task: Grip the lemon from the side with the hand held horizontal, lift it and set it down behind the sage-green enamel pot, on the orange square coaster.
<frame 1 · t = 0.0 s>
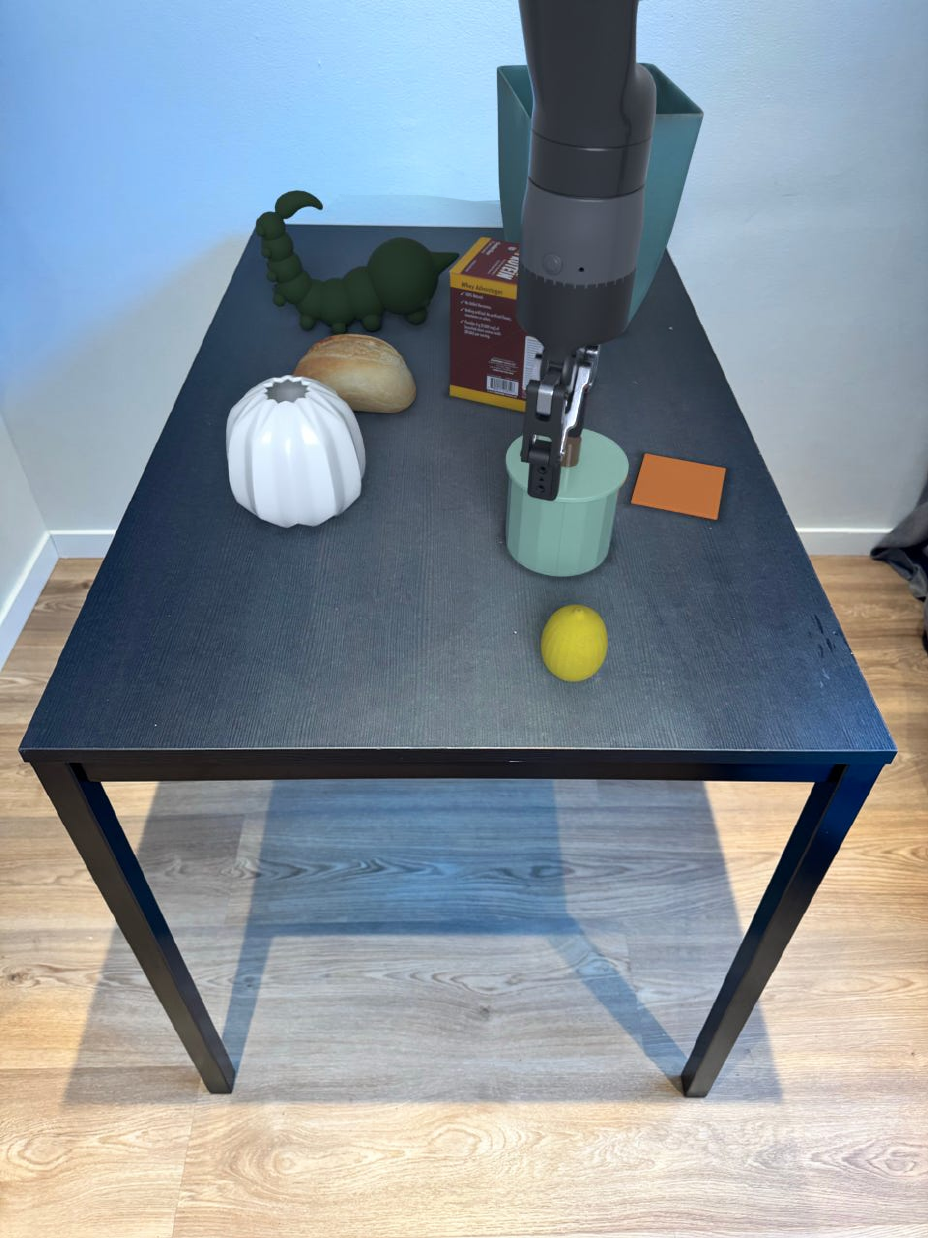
hand: (555, 463, 67), 18 cm above the table, tool pointing down, fingers open, 8 cm apart
supplement box: (520, 389, 109), on the table
lemon: (569, 676, 76), on the table
flower pot: (570, 318, 122), on the table
pot: (557, 541, 88), on the table
vase: (303, 502, 93), on the table
orange square coaster: (678, 486, 95), on the table
toy figurine: (366, 325, 120), on the table
bread roll: (354, 405, 106), on the table
pot lid: (566, 464, 82), point 9 cm above the table, touching pot
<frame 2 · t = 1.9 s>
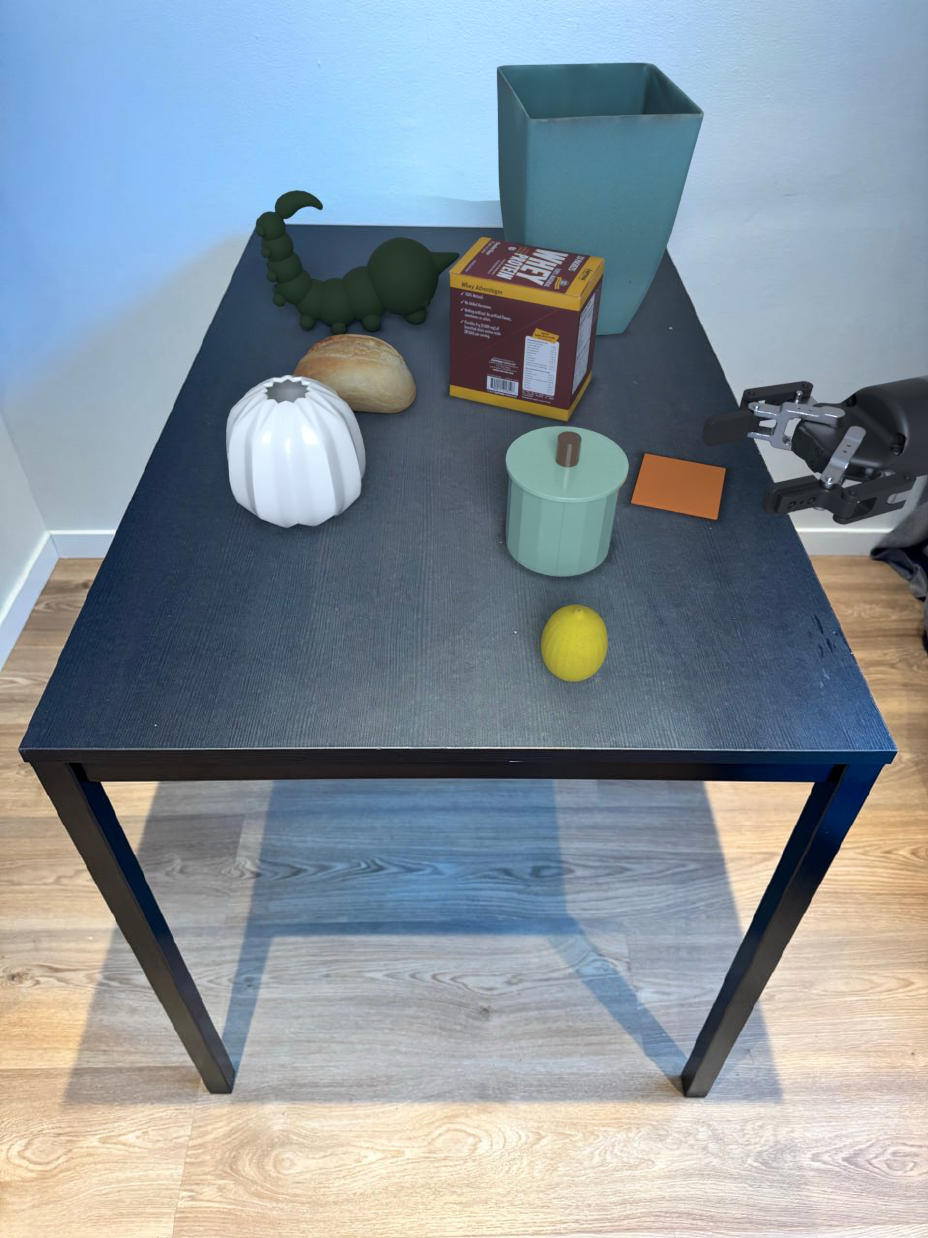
hand: (734, 464, 64), 20 cm above the table, tool horizontal, fingers open, 8 cm apart
nothing on the table moved.
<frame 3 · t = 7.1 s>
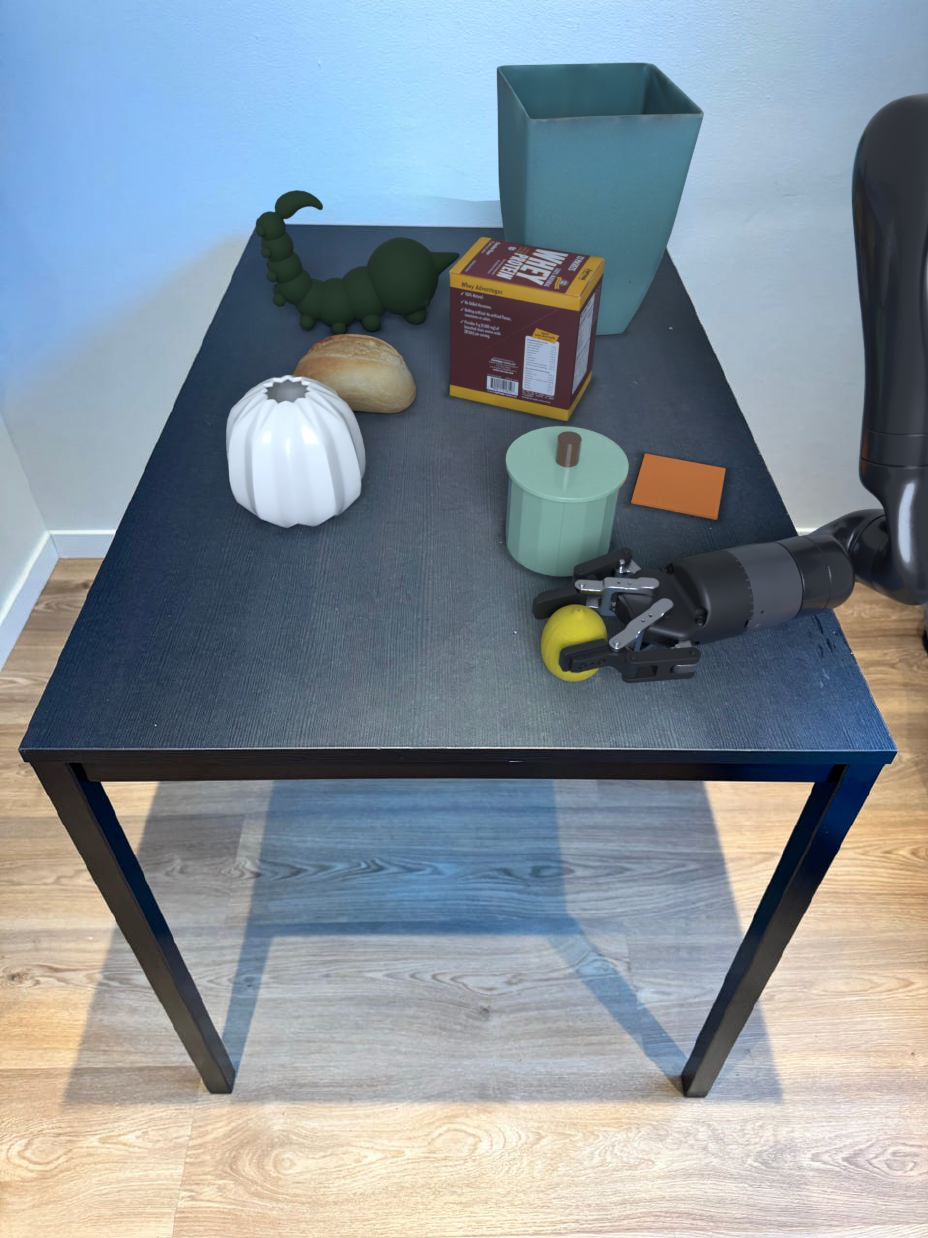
hand: (548, 634, 71), 6 cm above the table, tool horizontal, fingers closed on lemon, 5 cm apart
lemon: (569, 676, 76), on the table, touching gripper
everything else where it was.
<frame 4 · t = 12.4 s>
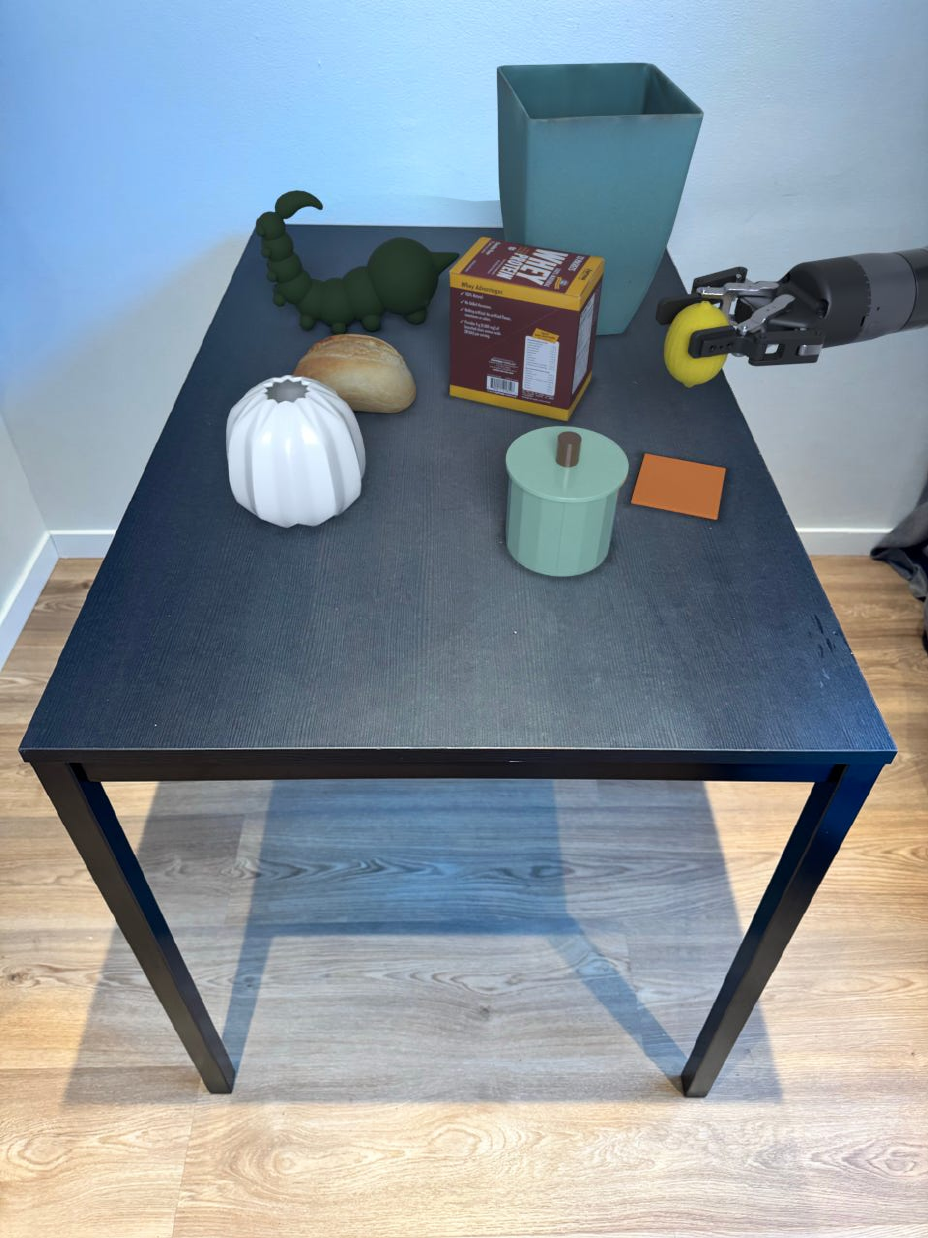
hand: (675, 328, 75), 22 cm above the table, tool horizontal, fingers closed on lemon, 5 cm apart
lemon: (687, 388, 80), point 16 cm above the table, touching gripper
everything else where it was.
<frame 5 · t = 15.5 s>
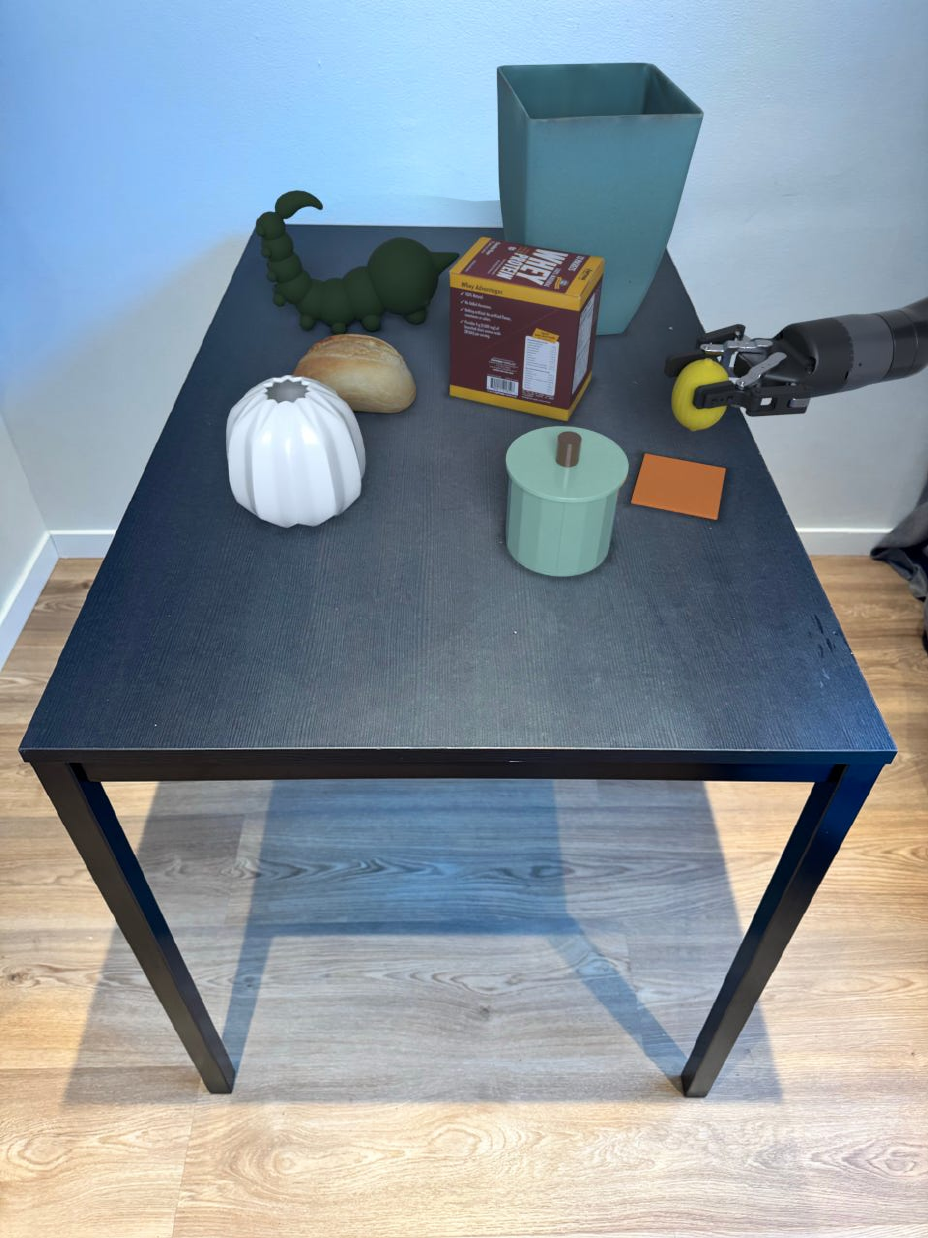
hand: (681, 382, 85), 13 cm above the table, tool horizontal, fingers closed on lemon, 5 cm apart
lemon: (692, 431, 90), point 7 cm above the table, touching gripper
everything else where it was.
when the fingers open (6 cm above the table, at t = 17.8 s): lemon stays where it is, resting on orange square coaster.
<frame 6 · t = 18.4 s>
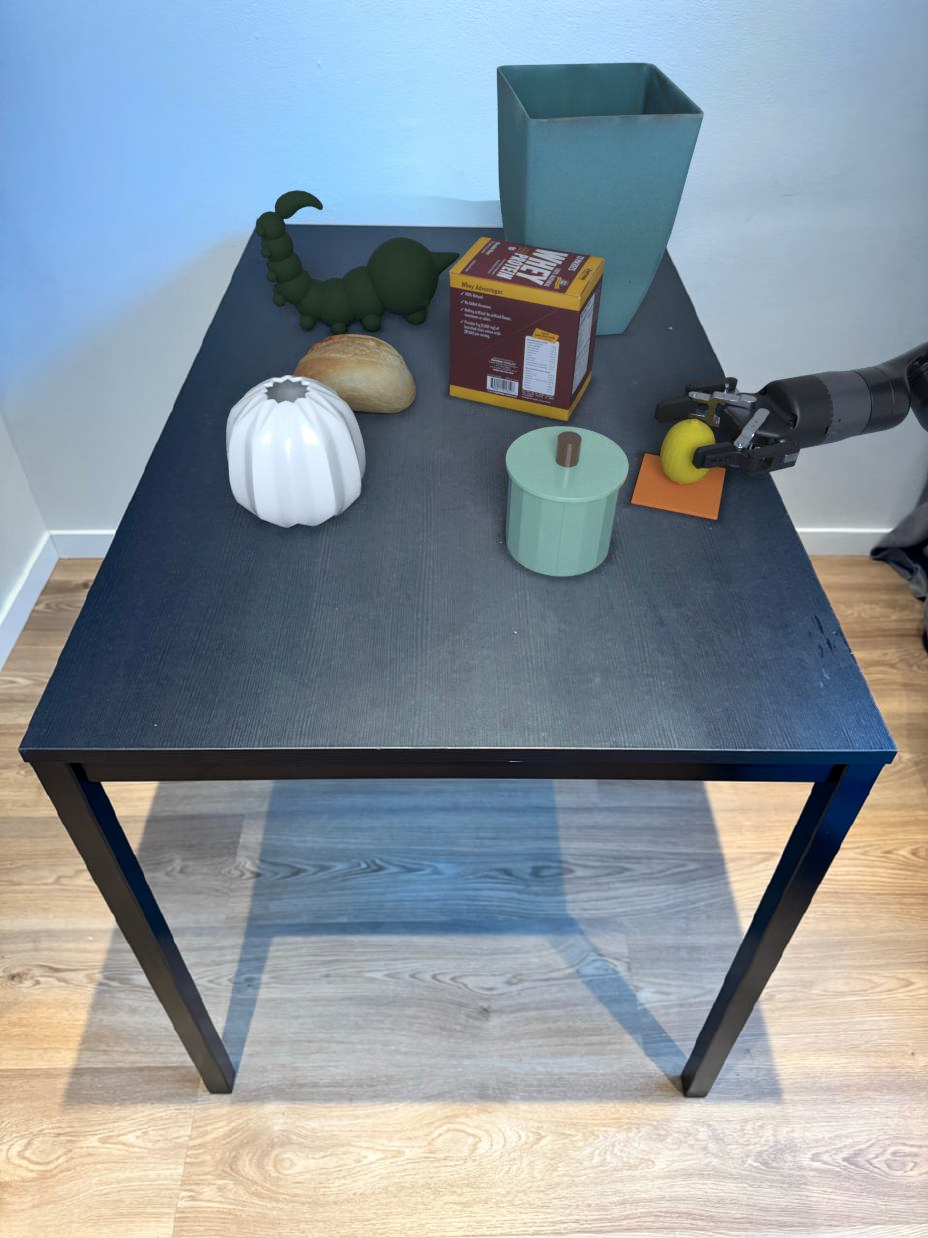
hand: (675, 435, 90), 7 cm above the table, tool horizontal, fingers open, 8 cm apart
lemon: (679, 485, 95), resting on orange square coaster
everything else where it was.
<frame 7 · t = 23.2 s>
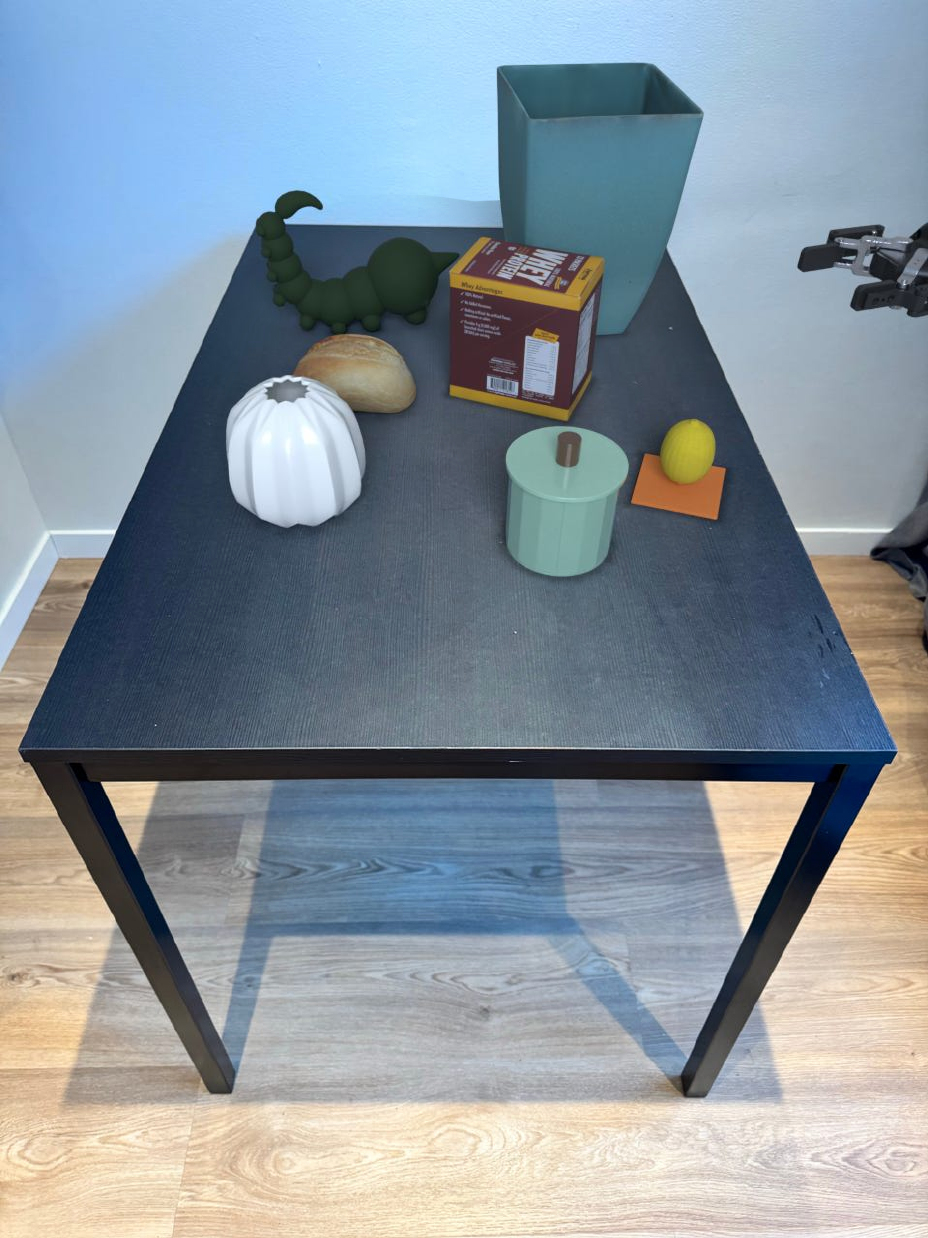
hand: (827, 278, 82), 22 cm above the table, tool horizontal, fingers open, 8 cm apart
nothing on the table moved.
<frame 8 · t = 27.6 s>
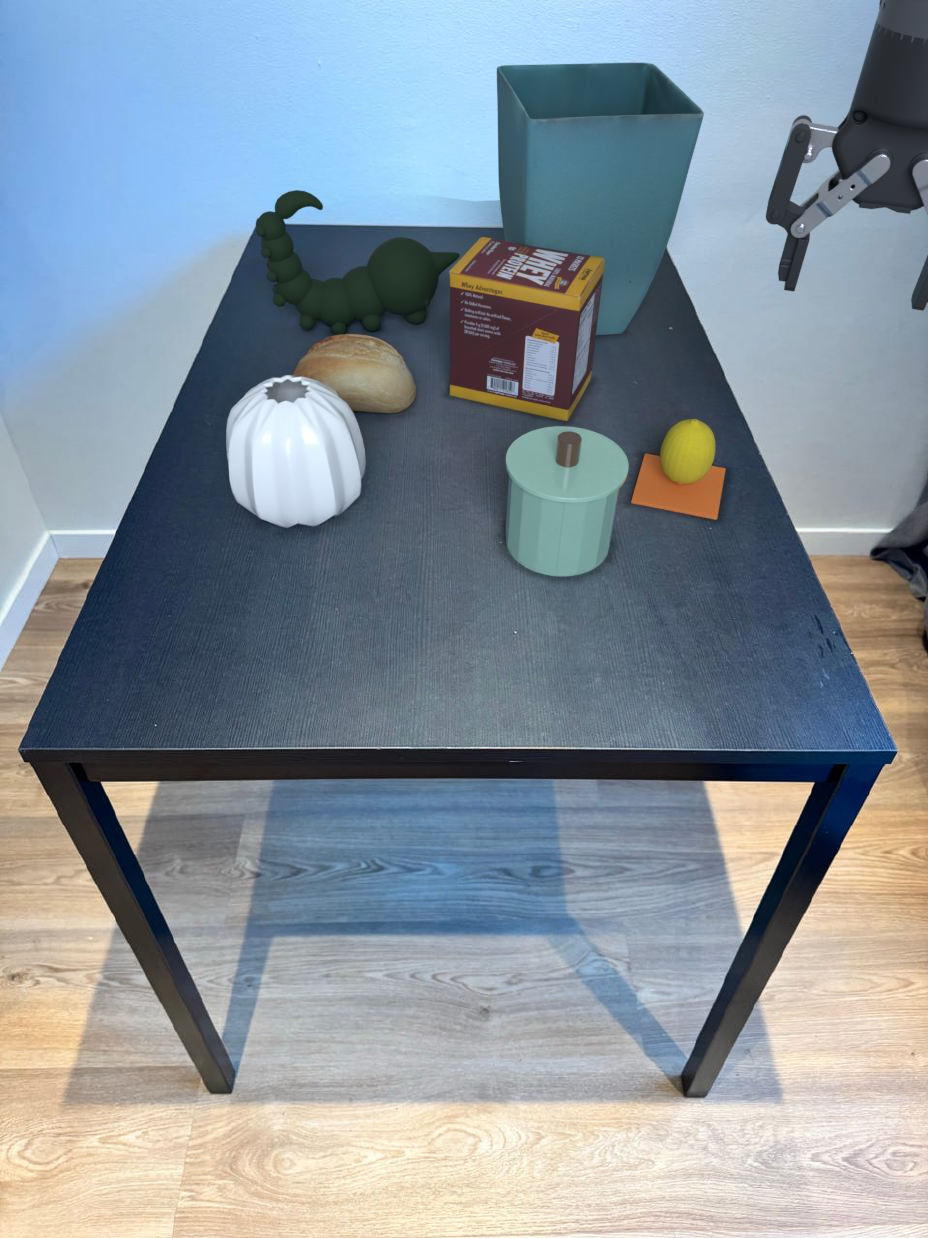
hand: (852, 295, 61), 30 cm above the table, tool pointing down, fingers open, 8 cm apart
nothing on the table moved.
at the end: lemon inside the target area on the table beside the pot (0.0 cm from its centre), resting on orange square coaster; lemon touching orange square coaster; the gripper is holding nothing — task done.
